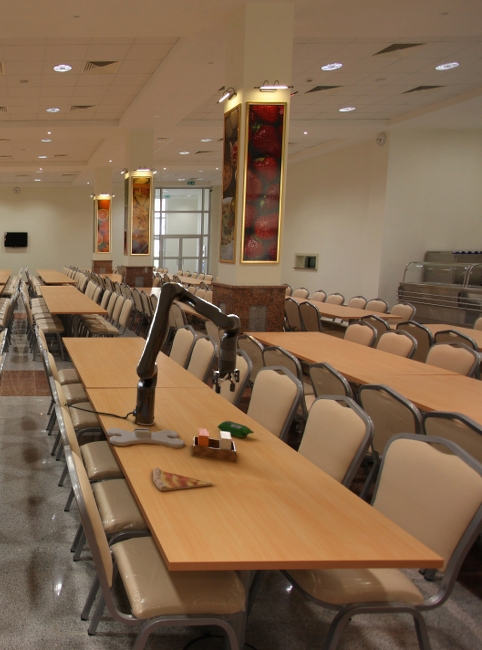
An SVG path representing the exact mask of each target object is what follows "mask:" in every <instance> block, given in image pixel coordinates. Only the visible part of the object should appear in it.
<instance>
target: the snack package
mask: <svg viewBox="0 0 482 650" xmlns="http://www.w3.org/2000/svg"><path fill="white" fill-rule="evenodd" d="M216 427H217V429H219V430H220V431H224V432H230V435H231V436H234V437H237V438H244V437H247V436H248V435H251V434H254V433H255V432H254V430H252V429H251V428H250V427H248V426H247V425H244V424H241V423H238V422H235V421H231V420H225V421H223V422H221V423H219V424H218V425H217V426H216Z"/></svg>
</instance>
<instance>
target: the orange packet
mask: <svg viewBox="0 0 482 650" xmlns="http://www.w3.org/2000/svg"><path fill="white" fill-rule="evenodd" d="M197 432H198V433H197V434H198V435H197V437H198V446H204V447H208V442H209V438H210V435H209V429H208V428H201V427H200V428H198V431H197Z"/></svg>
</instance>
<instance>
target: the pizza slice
mask: <svg viewBox="0 0 482 650" xmlns="http://www.w3.org/2000/svg"><path fill="white" fill-rule="evenodd" d="M152 481H153V483H154V485H155V486H156V488H157V489H158V490H159V491H160V492H165V491H172V490H174V491H175V490H182V489H191V488H199V487H209V486H213V485H214V483H213V482H209V481H205V480H201V479H197V478H192V477H189V476H185V475H180V474H176V473H171V472H167V471H164V470H161V468H159V467H155V468H153V472H152Z"/></svg>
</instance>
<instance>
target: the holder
mask: <svg viewBox="0 0 482 650" xmlns="http://www.w3.org/2000/svg"><path fill="white" fill-rule="evenodd" d="M106 434H107V436H109V437H110V438H109V442H110V444H112V445H114V446H117V447H126V446H129V445H130V446H131V445H136V444H138V445H139V444H148V445H149V444H150V445H151V444H152V445H162V446H166V447H169V448H173V449H174V448H175V449H180V448H181V449H182V448H184V447H185V445H186V444H185V441H184V440H182V439H180V438H179V433H178V432H176V431H175V430H171V429H162V430H158V431H151V430H150V428H149V427H148V428H147V427H146V428H145V427H136V428H134V430H127V429H124V428H123V429H122V428H118V427H111V428H108V429H107V430H106Z"/></svg>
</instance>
